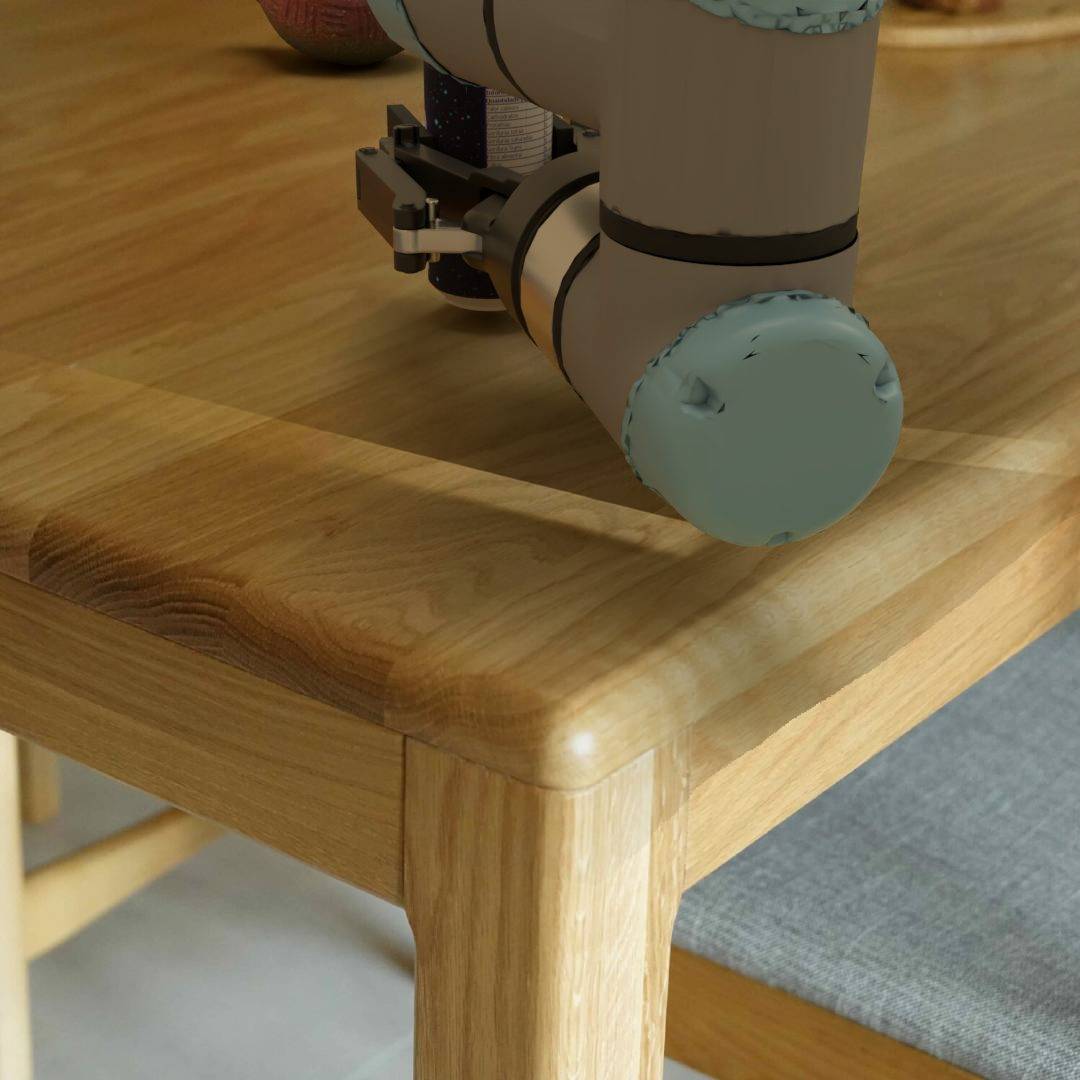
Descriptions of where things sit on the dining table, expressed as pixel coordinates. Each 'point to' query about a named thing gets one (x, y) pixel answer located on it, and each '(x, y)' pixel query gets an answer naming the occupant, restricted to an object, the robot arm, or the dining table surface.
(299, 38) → the bowl
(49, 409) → the dining table surface
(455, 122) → the beverage can
